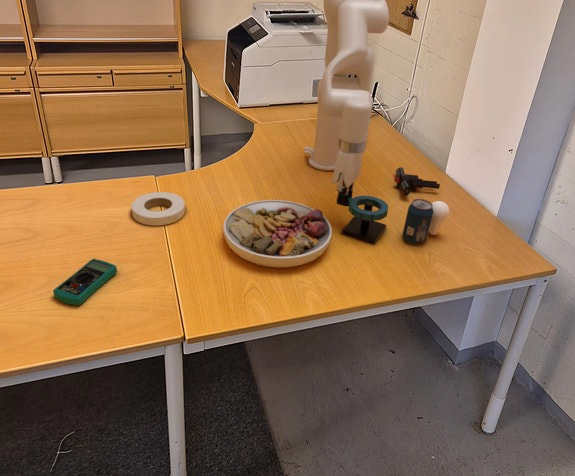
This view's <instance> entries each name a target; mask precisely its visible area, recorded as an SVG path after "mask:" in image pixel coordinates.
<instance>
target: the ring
mask: <svg viewBox="0 0 575 476" xmlns="http://www.w3.org/2000/svg"><path fill="white" fill-rule="evenodd" d="M337 198H338V196H336V199H337ZM367 201H369V202H372V203H373V207H374V208H376V209H377V210H372V211H366V210H364V208H361V207H359V206H364V204H365V202H367ZM335 202H336V204H337V201H335ZM346 207H348V208H347V209H348V211H349V213H350V214H351V215H352V216H353V217H354V216H355V217H357V218H359V219H362V220H368V221H376V222H377V221H383V219H385V218H387V216H388V211H389V204H388V203H387V202H386V201H385V200H383V199H381V198H379V197H375V196H372V195H357V196H355V197H352V198H350V197H349V199H348V205H347V206H346Z"/></svg>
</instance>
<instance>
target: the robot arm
mask: <svg viewBox="0 0 575 476" xmlns="http://www.w3.org/2000/svg"><path fill="white" fill-rule="evenodd" d="M323 12H324V16H325V21H326V25H327V37H326V44H325V54H324V68H325V70H324V71H323V75H322V78H321V79H320V80H319V82H317V83H318V84H317V91H316V92H317V93H316V94H317V114H316V125H315V134H314V135H315V137H314V145H313V148H312V147H310V146H305V147H304V148H303V151H304V155H309V158H308V164H309V165H310V166H311V167H312V168H315V169H317V170H321V171H330V172H331V171H333V176H332V184H333V185H336V184H337V186H336V192H337V197H338V198H337V197H336V202H337V203H336V204H337V205H339V206H342V207H348V206H347V205H348V199H349V197H350V198H353V192H354V187H355V181H356V180H357V179H358V178H359V177H360V175H361V170H362V163H363V156H364V155H363V154H364V153H366V148H367V141H368V135H369V130H370V129H369V128H370V123H371V117H372V110H373V106H374V98H373V96H372V94H371V93H370V90H371V82H372V75H373V69H374V61H375V60H374V59H375V56H374V55H375V54H374V51H373V49H372V48H371V47H370V46H369V45H368V42H369V41H368V39H369V37H368V35H369V34H383V33H385V32H386V31H387V29H388V26H389V22H390V10H389V7H388V4H387V1H386V0H323ZM335 75H348V76H349V75H350V76H356V77H346V76H335Z"/></svg>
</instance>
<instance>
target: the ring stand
mask: <svg viewBox="0 0 575 476" xmlns="http://www.w3.org/2000/svg"><path fill="white" fill-rule="evenodd" d="M373 207H374V206H373V203H372V202H369V201H367V202H365V204H364V205H363V210H366V211H373ZM386 229H387V224H386V223H383V222H379V221H377V220H376V221H368V220H362V219H359V218H357V217H355V216H353V217H352V218H351V220H350V221H348V222H347V224H346V225H345V226H344V228H343V229H342V232H341V234H342V235H344V236H346V237H347V236H348V237H349V238H350V237H351V238H353V239H357V240H359V241H362V242H365V243H367V244H368V243H369V244H371V245H375V244H376V243H377V241H378V240H379V238H380V237H381V235H382V234H383V233H384V231H385V230H386Z"/></svg>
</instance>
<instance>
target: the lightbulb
mask: <svg viewBox="0 0 575 476" xmlns="http://www.w3.org/2000/svg"><path fill="white" fill-rule="evenodd" d="M431 204H432V205H433V207H432V208H433V216H432V219H431V223H430V227H429V231H428V234H430V235H431V236H435V235H437V234H438V232H439V230H440V228H441V225H442V224H443V222H445V221H446V220H447V219H448V218H449V216H450V207H449V206H448V204H447V203H446V202H444V201H442V200H436V201H433V202H431Z"/></svg>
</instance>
